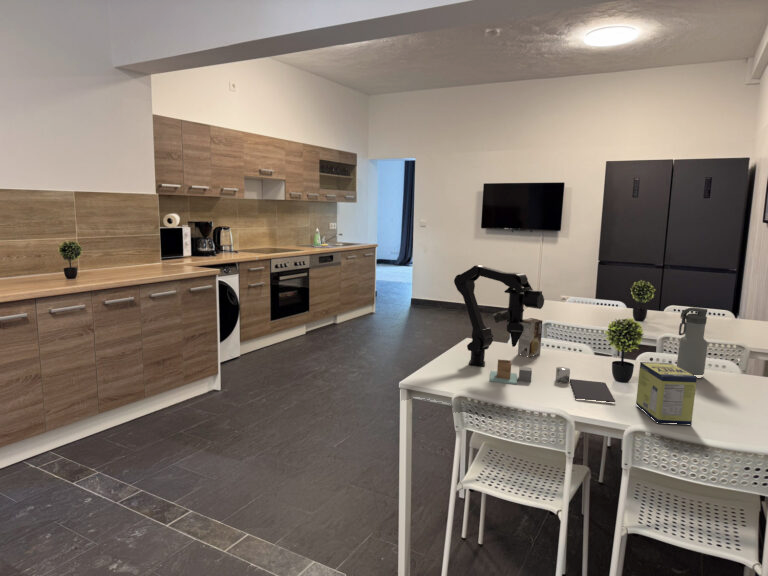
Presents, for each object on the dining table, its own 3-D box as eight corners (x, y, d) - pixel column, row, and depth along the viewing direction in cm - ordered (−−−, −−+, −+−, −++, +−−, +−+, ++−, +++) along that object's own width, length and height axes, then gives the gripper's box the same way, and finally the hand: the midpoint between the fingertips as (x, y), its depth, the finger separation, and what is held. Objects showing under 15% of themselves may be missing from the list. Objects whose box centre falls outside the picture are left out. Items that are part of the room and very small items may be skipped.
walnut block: (497, 374, 198) (498, 359, 197) (510, 375, 196) (511, 360, 196) (496, 377, 193) (497, 362, 192) (510, 379, 192) (511, 364, 191)
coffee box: (528, 351, 236) (531, 317, 234) (540, 354, 231) (543, 320, 229) (516, 354, 230) (519, 319, 228) (529, 357, 225) (531, 322, 223)
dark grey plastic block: (518, 377, 197) (519, 366, 196) (530, 378, 195) (531, 367, 195) (518, 381, 192) (519, 369, 192) (530, 382, 191) (531, 371, 190)
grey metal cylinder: (554, 378, 196) (555, 366, 196) (568, 380, 195) (569, 367, 195) (555, 382, 192) (557, 369, 191) (569, 384, 190) (570, 371, 190)
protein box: (666, 407, 169) (671, 362, 167) (692, 426, 154) (698, 377, 152) (634, 405, 170) (639, 361, 168) (657, 424, 154) (663, 375, 152)
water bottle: (671, 374, 207) (678, 307, 203) (679, 370, 213) (687, 305, 209) (698, 380, 199) (707, 311, 196) (706, 376, 206) (715, 309, 202)
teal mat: (490, 372, 202) (490, 370, 202) (516, 374, 199) (516, 373, 199) (489, 381, 190) (489, 380, 190) (517, 384, 188) (517, 382, 188)
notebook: (569, 382, 194) (575, 401, 173) (569, 378, 193) (576, 397, 173) (604, 386, 191) (615, 406, 170) (605, 382, 190) (615, 401, 170)
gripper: (495, 300, 209) (493, 336, 211) (494, 307, 191) (492, 347, 193) (523, 302, 206) (520, 339, 208) (525, 309, 188) (522, 350, 190)
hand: (513, 343), depth 200 cm, fingers open, 9 cm apart
